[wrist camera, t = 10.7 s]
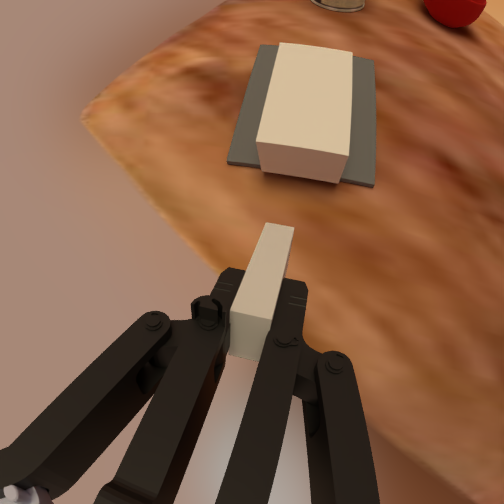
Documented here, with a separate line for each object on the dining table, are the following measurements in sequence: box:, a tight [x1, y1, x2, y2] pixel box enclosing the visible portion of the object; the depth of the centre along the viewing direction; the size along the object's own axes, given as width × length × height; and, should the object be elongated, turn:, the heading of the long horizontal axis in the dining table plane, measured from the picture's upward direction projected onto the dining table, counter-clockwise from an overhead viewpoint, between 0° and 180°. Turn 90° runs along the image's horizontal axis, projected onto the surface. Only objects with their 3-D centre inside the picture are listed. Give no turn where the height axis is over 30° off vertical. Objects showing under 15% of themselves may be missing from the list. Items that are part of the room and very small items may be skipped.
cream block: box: [256, 43, 352, 184], centre depth 28 cm, size 6×8×14 cm
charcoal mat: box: [227, 45, 376, 188], centre depth 32 cm, size 20×16×1 cm
